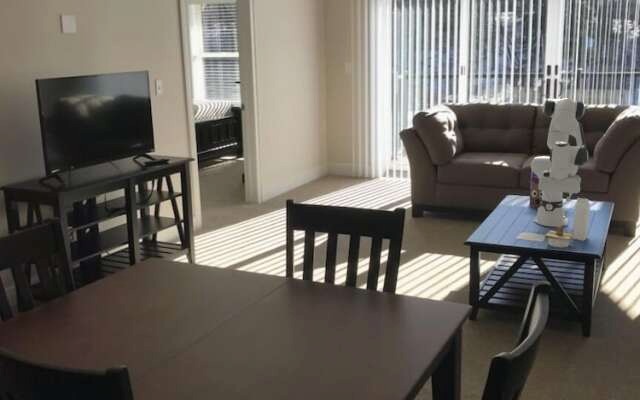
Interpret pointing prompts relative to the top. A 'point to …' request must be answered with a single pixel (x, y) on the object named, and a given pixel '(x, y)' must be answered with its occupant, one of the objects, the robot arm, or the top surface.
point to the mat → (531, 236)
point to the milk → (581, 219)
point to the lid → (559, 234)
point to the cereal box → (535, 191)
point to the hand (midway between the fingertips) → (558, 200)
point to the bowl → (558, 242)
